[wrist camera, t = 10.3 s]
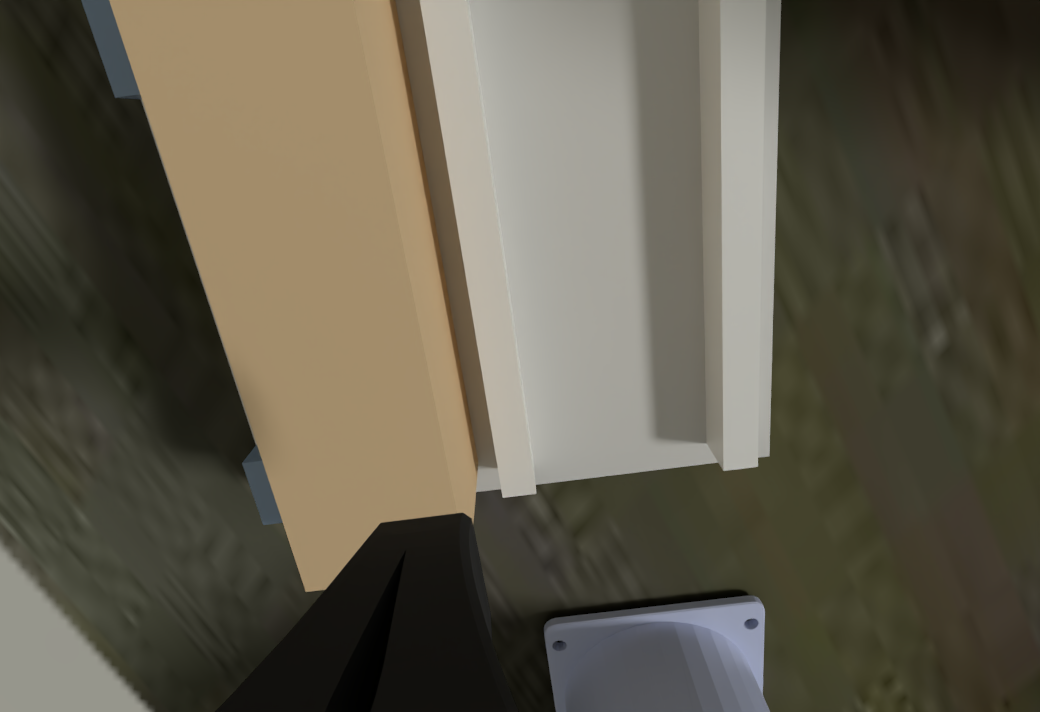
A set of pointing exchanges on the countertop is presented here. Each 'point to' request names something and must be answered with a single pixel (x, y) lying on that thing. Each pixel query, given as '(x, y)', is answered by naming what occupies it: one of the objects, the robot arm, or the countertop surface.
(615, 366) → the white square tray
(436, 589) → the robot arm
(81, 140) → the countertop surface
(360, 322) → the tan bar
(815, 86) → the countertop surface
